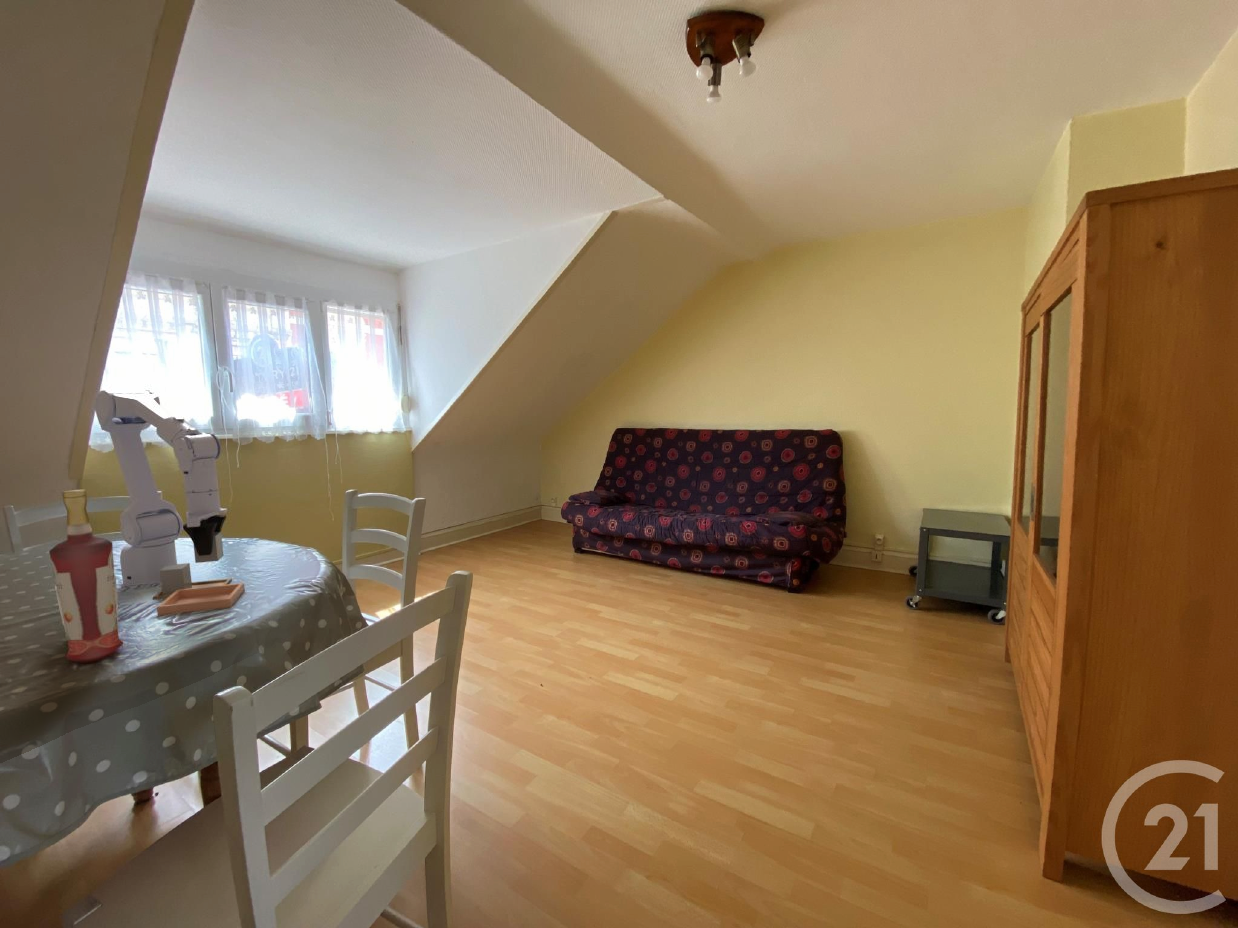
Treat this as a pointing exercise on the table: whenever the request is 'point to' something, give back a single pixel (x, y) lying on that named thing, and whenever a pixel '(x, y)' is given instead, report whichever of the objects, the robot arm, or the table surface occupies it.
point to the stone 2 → (216, 550)
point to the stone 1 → (175, 578)
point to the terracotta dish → (201, 599)
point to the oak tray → (197, 585)
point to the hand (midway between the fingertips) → (208, 551)
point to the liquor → (86, 585)
